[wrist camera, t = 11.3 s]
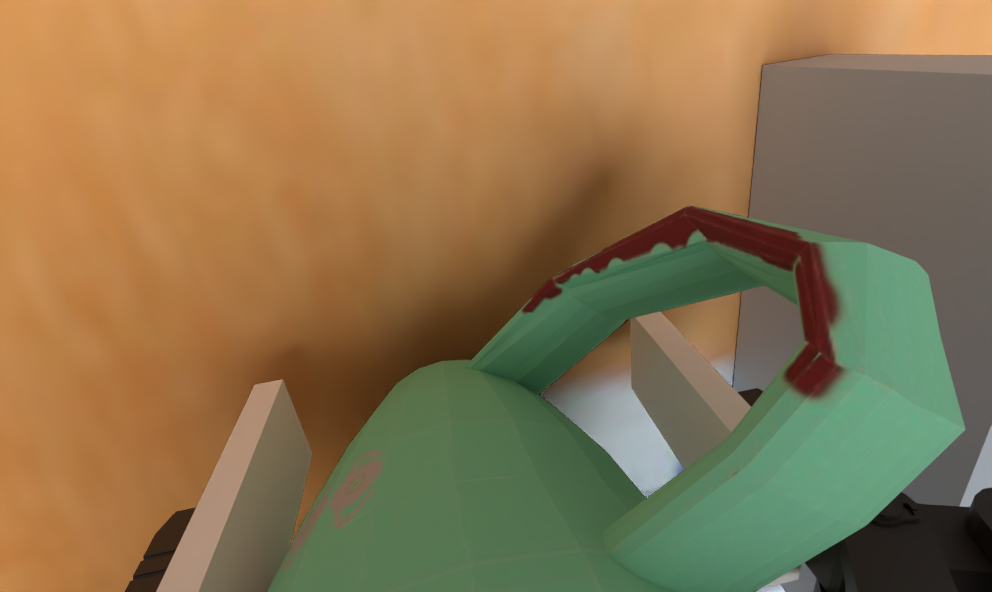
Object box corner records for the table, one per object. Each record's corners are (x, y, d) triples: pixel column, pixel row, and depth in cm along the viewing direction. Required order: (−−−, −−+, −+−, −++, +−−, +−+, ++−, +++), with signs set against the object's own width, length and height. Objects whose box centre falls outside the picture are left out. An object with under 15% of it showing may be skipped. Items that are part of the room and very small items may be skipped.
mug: (507, 557, 19) (603, 988, 10) (241, 494, 16) (45, 1061, 7) (755, 226, 15) (1280, 481, 6) (464, 38, 11) (704, -7, 3)
